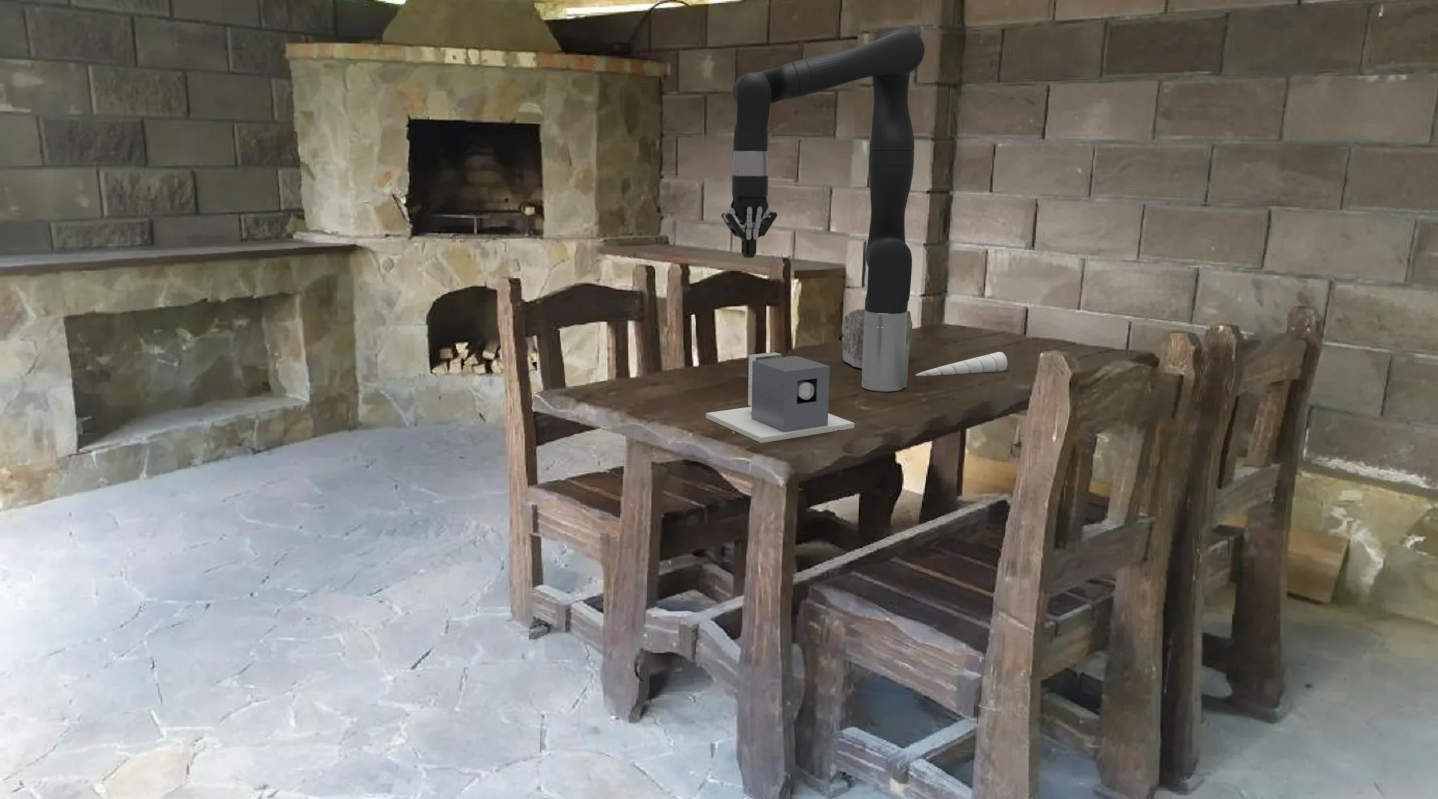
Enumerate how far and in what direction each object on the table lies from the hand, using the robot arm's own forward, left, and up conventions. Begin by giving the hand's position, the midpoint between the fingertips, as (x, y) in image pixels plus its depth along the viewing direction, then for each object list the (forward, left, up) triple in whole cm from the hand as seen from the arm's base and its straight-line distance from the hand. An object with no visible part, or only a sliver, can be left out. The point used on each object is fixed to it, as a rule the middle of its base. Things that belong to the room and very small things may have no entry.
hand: (748, 257), depth 219 cm
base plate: (+9, +26, -29) cm, 40 cm away
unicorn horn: (-55, +9, -30) cm, 63 cm away
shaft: (+9, +27, -27) cm, 39 cm away
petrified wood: (-44, -9, -29) cm, 54 cm away
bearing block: (+9, +30, -28) cm, 42 cm away
